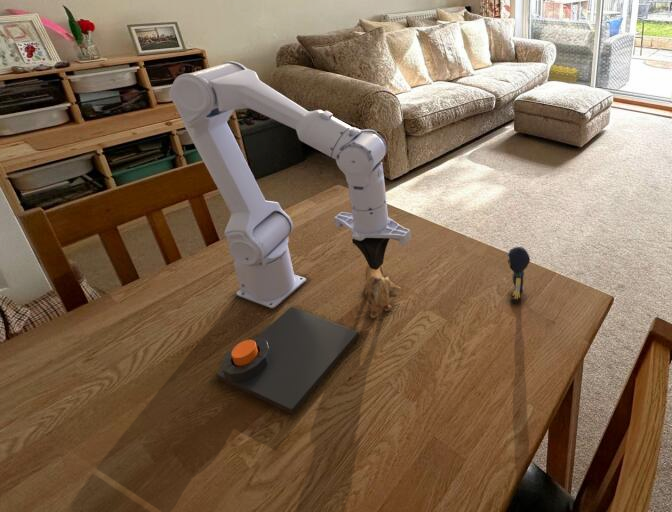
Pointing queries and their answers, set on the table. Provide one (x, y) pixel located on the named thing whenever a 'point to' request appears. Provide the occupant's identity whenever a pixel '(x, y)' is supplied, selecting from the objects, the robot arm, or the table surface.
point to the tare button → (244, 352)
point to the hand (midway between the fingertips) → (376, 265)
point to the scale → (290, 359)
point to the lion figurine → (379, 290)
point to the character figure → (518, 270)
